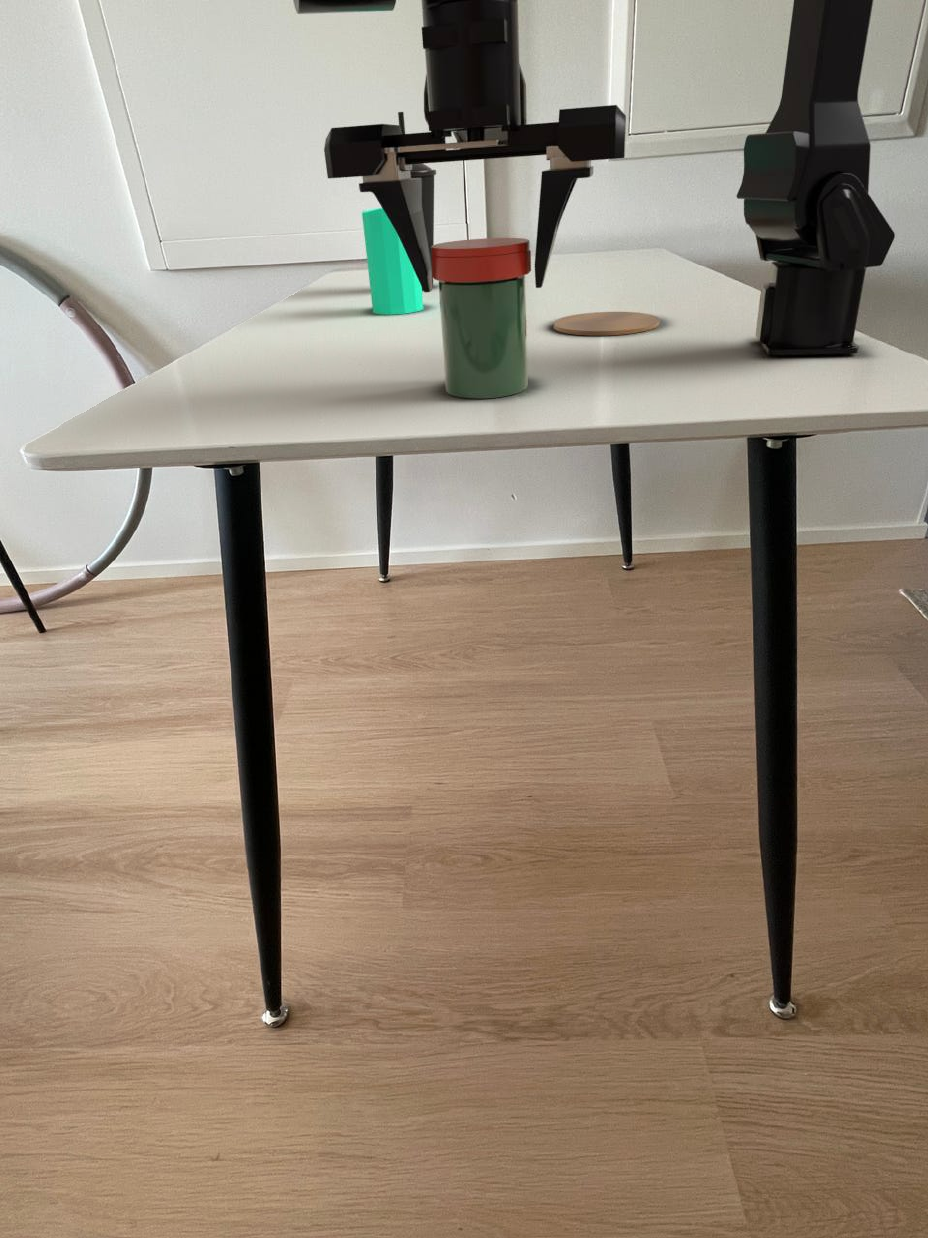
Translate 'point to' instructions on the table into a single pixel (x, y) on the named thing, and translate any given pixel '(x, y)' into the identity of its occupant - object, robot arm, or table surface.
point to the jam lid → (481, 259)
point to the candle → (389, 267)
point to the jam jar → (484, 337)
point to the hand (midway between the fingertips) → (483, 289)
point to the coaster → (606, 323)
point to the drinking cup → (424, 193)
